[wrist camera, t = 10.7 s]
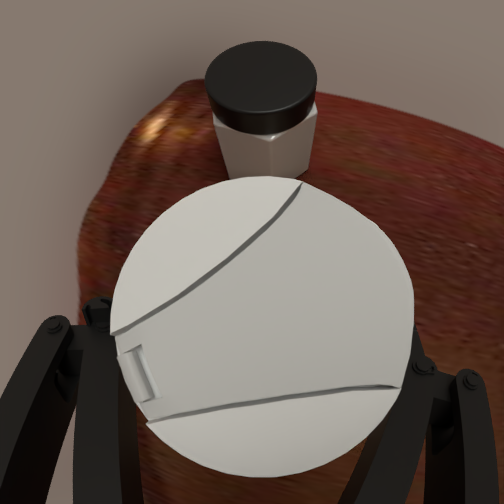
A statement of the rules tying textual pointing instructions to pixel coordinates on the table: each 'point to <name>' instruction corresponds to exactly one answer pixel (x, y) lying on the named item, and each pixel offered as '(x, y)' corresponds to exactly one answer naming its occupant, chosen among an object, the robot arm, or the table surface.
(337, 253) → the paper cup
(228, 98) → the jar
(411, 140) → the table surface
